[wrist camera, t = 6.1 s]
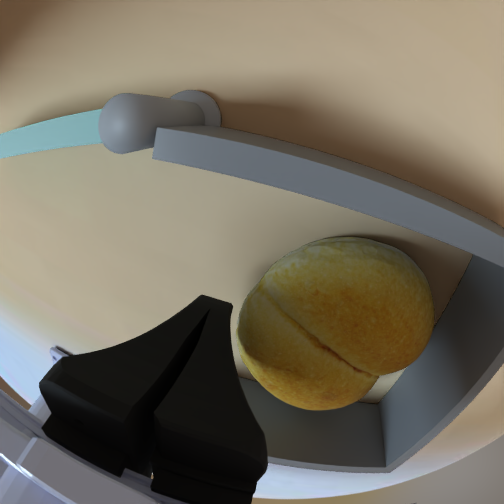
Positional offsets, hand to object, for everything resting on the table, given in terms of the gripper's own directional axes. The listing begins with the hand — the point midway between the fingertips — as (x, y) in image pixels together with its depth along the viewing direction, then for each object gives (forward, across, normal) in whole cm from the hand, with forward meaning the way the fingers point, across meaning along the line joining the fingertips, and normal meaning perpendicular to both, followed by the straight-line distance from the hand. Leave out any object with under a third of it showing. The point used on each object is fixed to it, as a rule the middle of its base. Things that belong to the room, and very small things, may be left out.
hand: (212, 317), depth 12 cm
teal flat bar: (+2, +9, -6) cm, 11 cm away
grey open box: (+2, -4, -1) cm, 4 cm away
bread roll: (+2, -5, 0) cm, 6 cm away
